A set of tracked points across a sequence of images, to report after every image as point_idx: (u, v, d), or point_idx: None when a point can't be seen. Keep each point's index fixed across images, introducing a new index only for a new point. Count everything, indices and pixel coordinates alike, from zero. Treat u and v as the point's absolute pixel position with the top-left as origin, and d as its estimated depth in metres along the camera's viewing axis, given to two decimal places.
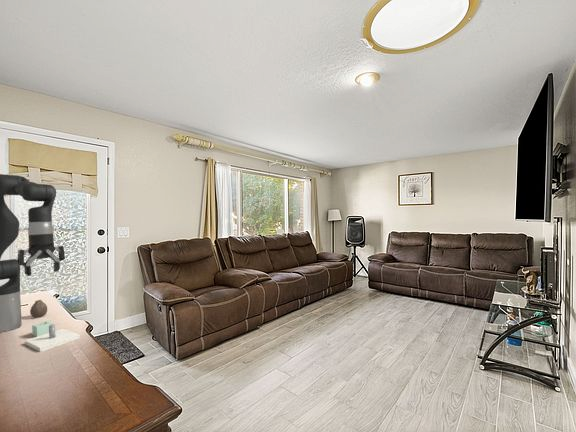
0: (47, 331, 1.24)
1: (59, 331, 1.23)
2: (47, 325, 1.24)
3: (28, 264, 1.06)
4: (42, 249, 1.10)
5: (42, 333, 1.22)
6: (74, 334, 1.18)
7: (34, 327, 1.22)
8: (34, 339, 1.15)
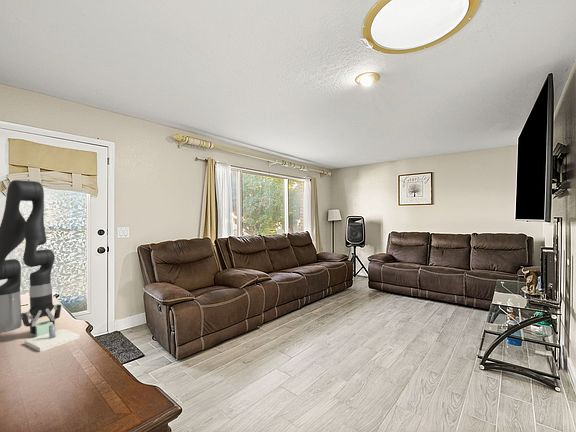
0: (47, 331, 1.24)
1: (59, 331, 1.23)
2: (47, 325, 1.24)
3: (33, 324, 1.21)
4: (42, 308, 1.24)
5: (42, 333, 1.22)
6: (74, 334, 1.18)
7: None
8: (34, 339, 1.15)
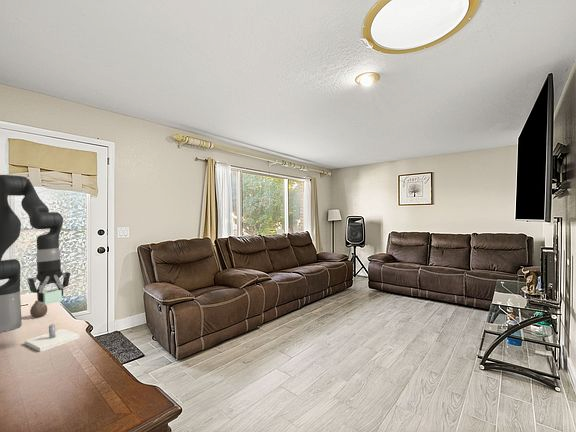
0: (55, 299, 1.15)
1: (59, 331, 1.23)
2: (55, 292, 1.15)
3: (41, 291, 1.12)
4: (50, 275, 1.15)
5: (50, 301, 1.13)
6: (74, 334, 1.18)
7: None
8: (34, 339, 1.15)
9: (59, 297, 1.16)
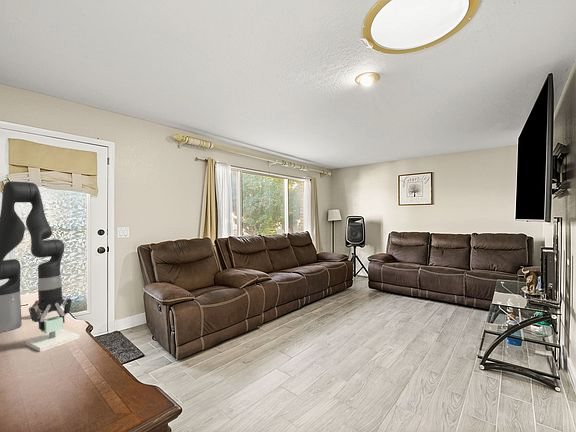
0: (57, 327, 1.15)
1: (59, 331, 1.23)
2: (57, 320, 1.15)
3: (42, 320, 1.12)
4: (51, 303, 1.15)
5: (51, 329, 1.13)
6: (74, 334, 1.18)
7: None
8: (34, 339, 1.15)
9: (60, 325, 1.16)
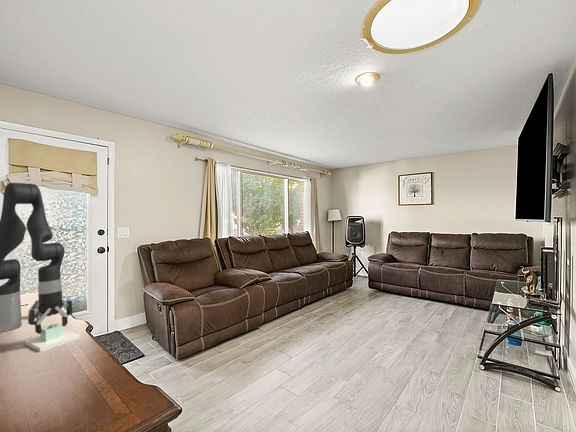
0: (56, 335, 1.15)
1: None
2: (56, 328, 1.15)
3: (38, 323, 1.11)
4: (51, 306, 1.15)
5: (51, 337, 1.13)
6: (74, 334, 1.18)
7: (42, 331, 1.13)
8: (34, 339, 1.15)
9: (60, 333, 1.16)
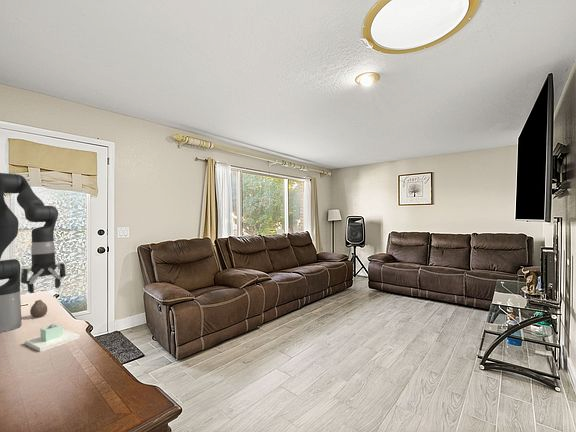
0: (56, 335, 1.15)
1: None
2: (56, 328, 1.15)
3: (31, 282, 1.13)
4: (44, 267, 1.17)
5: (51, 337, 1.13)
6: (74, 334, 1.18)
7: (42, 331, 1.13)
8: (34, 339, 1.15)
9: (60, 333, 1.16)
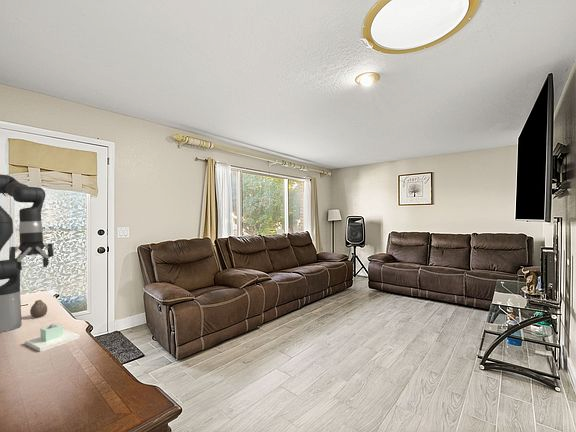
0: (56, 335, 1.15)
1: None
2: (56, 328, 1.15)
3: (19, 260, 1.17)
4: (32, 246, 1.21)
5: (51, 337, 1.13)
6: (74, 334, 1.18)
7: (42, 331, 1.13)
8: (34, 339, 1.15)
9: (60, 333, 1.16)
